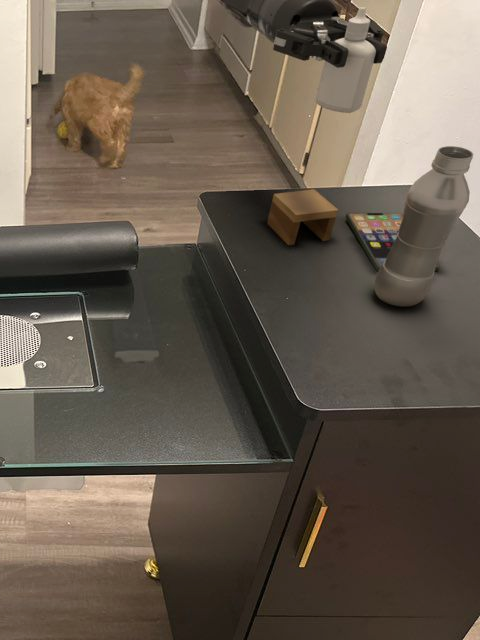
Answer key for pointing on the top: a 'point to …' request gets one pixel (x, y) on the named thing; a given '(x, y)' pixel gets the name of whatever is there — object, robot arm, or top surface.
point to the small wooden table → (301, 214)
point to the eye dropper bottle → (348, 69)
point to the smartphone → (376, 234)
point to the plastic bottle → (425, 228)
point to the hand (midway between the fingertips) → (362, 56)
